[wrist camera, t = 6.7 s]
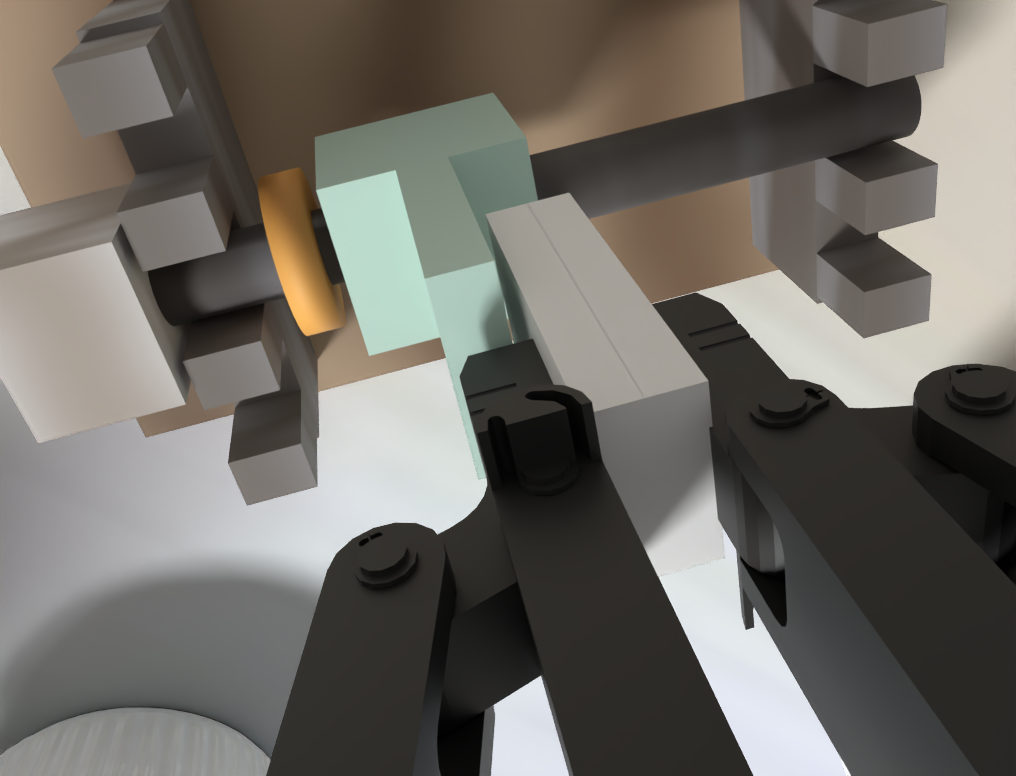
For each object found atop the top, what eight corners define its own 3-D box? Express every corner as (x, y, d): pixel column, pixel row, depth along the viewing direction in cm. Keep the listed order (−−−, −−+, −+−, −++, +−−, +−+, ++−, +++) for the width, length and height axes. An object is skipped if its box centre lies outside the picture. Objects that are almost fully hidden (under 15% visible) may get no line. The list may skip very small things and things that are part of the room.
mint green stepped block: (492, 92, 20) (597, 233, 13) (523, 242, 22) (628, 439, 15) (314, 137, 20) (319, 305, 13) (360, 284, 22) (386, 505, 15)
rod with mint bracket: (780, -212, 22) (982, -234, 15) (794, 245, 28) (941, 368, 22) (-58, -15, 21) (-226, 51, 14) (151, 415, 27) (102, 598, 21)
